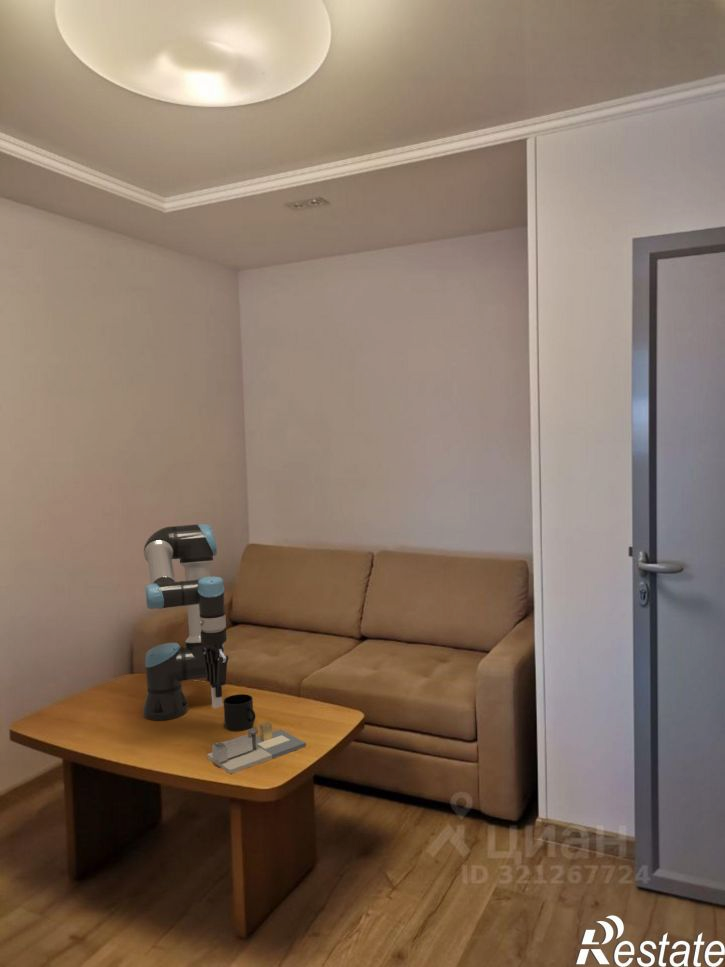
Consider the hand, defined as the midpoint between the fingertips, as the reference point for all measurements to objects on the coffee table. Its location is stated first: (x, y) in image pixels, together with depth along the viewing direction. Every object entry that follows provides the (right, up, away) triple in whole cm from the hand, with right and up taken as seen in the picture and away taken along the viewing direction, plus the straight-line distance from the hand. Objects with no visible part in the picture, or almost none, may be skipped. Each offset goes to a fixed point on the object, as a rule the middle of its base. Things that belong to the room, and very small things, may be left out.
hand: (217, 706), depth 220 cm
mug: (+4, -13, +22) cm, 26 cm away
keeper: (+14, -13, +8) cm, 20 cm away
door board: (+12, -14, +2) cm, 19 cm away
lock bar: (+5, -13, -3) cm, 15 cm away
